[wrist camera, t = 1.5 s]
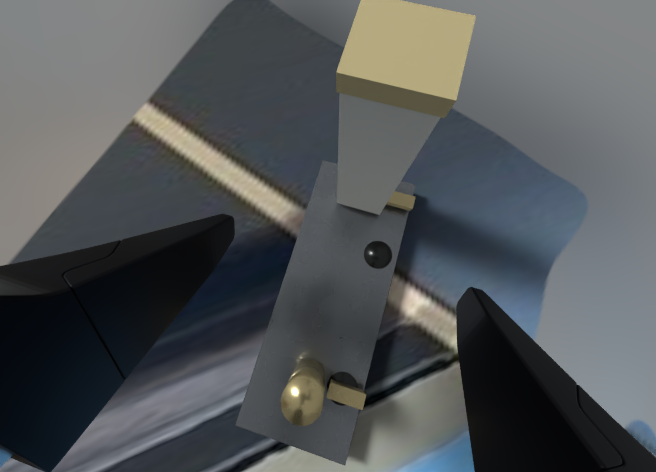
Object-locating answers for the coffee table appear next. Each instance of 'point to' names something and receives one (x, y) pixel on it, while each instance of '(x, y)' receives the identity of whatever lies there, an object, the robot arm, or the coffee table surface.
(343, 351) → the plate
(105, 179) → the coffee table surface
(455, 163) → the coffee table surface
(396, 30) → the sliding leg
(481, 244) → the coffee table surface
